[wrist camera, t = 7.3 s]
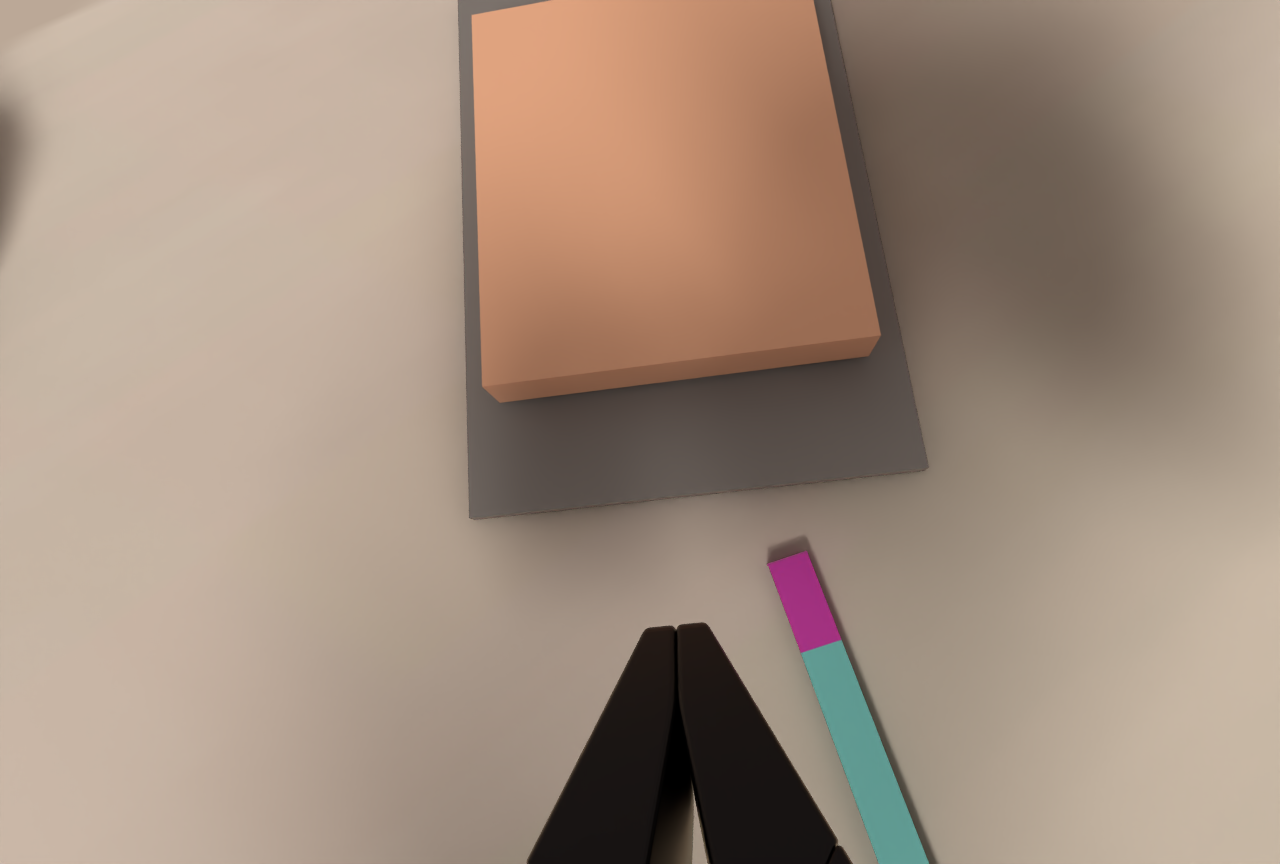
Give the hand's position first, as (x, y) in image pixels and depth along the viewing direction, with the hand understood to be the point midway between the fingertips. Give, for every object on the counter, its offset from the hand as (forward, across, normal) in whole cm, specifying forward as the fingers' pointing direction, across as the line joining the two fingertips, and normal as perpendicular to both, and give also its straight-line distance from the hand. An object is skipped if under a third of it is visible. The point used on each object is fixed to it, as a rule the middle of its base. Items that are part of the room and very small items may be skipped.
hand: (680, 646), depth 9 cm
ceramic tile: (+14, 0, -4) cm, 14 cm away
